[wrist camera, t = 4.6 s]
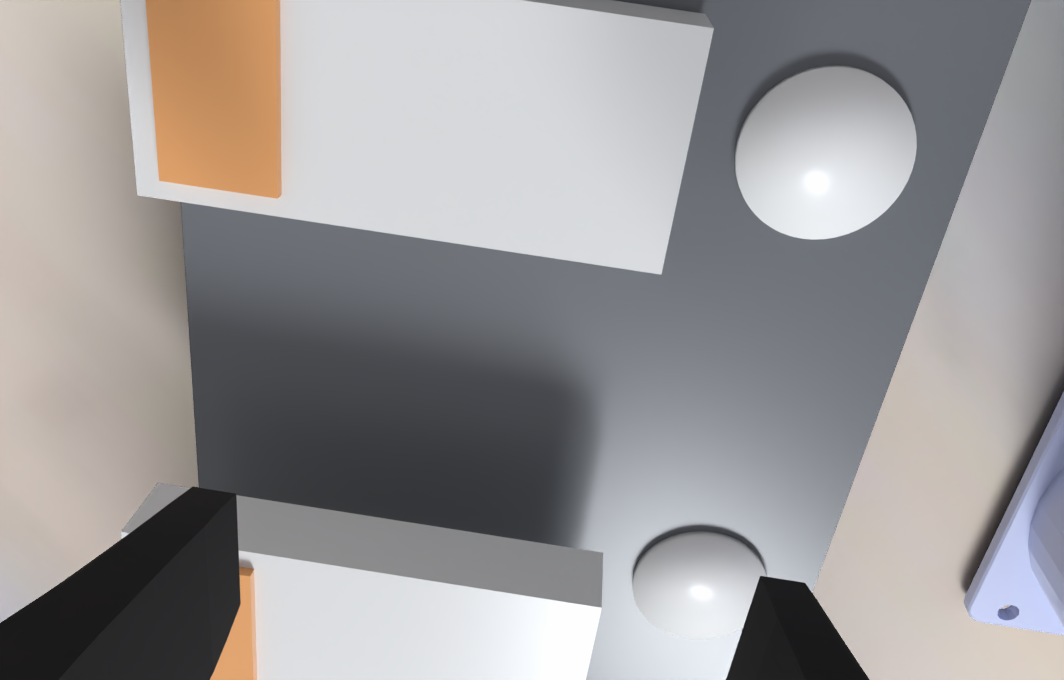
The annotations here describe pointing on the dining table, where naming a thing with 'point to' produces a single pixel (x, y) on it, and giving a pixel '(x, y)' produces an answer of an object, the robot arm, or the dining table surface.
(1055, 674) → the dining table surface
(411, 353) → the switch panel
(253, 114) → the switch middle
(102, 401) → the dining table surface
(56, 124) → the dining table surface
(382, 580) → the switch on end
